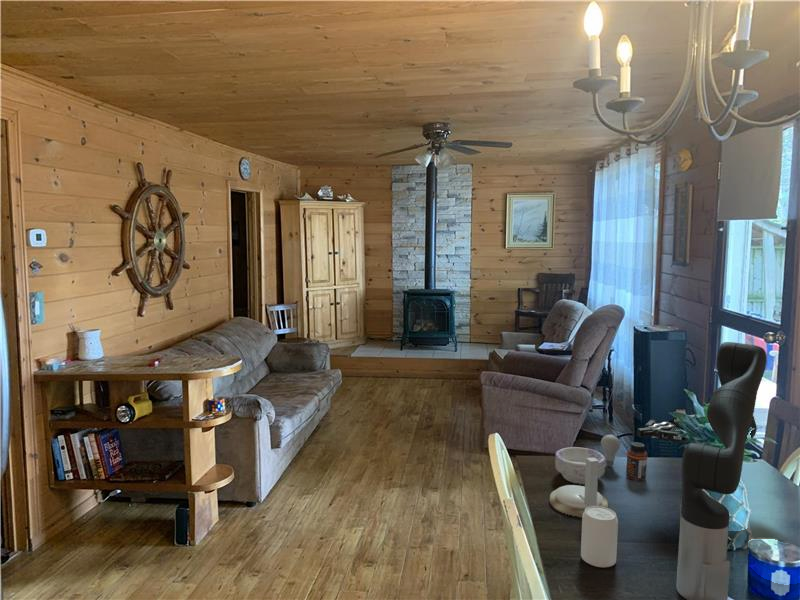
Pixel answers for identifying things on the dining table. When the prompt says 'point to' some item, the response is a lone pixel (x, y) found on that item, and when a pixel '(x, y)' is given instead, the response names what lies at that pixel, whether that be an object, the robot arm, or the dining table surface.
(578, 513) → the dial base
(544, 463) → the dining table surface
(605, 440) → the lightbulb
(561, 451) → the paper bowls
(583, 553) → the beverage can
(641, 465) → the supplement bottle
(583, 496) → the dial
